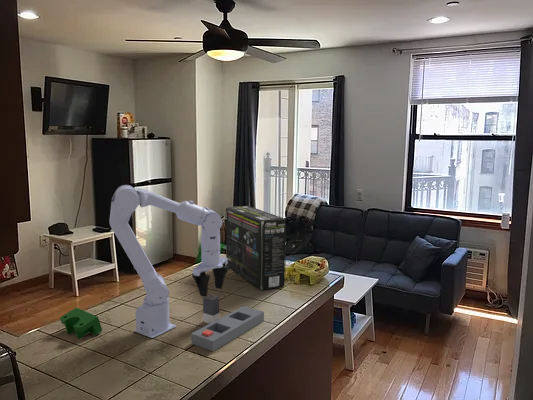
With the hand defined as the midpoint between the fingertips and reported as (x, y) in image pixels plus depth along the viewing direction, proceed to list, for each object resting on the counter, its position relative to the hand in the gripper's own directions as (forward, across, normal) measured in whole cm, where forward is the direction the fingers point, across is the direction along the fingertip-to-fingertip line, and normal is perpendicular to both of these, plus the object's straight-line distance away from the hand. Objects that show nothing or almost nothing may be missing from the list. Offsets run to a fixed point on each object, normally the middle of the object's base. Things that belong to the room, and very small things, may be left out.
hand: (211, 291), depth 137 cm
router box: (+10, +44, +13) cm, 47 cm away
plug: (+9, -1, 0) cm, 9 cm away
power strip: (+9, -3, -9) cm, 14 cm away
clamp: (+10, -27, +27) cm, 39 cm away
